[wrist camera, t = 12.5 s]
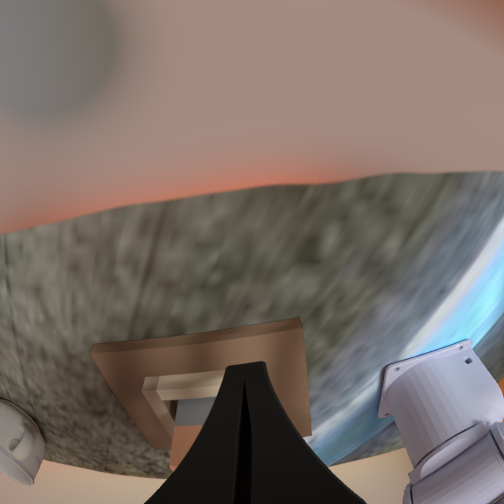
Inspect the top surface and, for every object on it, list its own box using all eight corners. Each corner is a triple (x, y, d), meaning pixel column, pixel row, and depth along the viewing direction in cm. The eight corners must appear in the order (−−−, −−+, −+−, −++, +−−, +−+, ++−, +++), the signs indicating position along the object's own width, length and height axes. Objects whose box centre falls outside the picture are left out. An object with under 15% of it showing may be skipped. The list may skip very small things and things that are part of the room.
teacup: (22, 438, 31) (5, 479, 23) (-28, 386, 26) (-53, 428, 19) (84, 441, 29) (68, 494, 22) (24, 380, 25) (-6, 435, 18)
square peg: (229, 386, 23) (228, 464, 17) (239, 415, 25) (241, 486, 18) (179, 391, 23) (168, 466, 17) (194, 419, 25) (188, 488, 18)
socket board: (299, 317, 22) (306, 342, 20) (309, 426, 28) (314, 447, 25) (94, 343, 22) (83, 366, 20) (155, 440, 28) (152, 460, 26)
